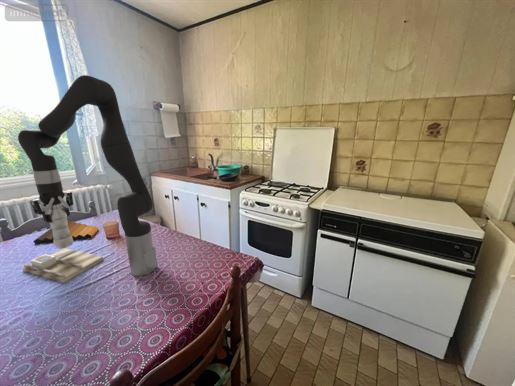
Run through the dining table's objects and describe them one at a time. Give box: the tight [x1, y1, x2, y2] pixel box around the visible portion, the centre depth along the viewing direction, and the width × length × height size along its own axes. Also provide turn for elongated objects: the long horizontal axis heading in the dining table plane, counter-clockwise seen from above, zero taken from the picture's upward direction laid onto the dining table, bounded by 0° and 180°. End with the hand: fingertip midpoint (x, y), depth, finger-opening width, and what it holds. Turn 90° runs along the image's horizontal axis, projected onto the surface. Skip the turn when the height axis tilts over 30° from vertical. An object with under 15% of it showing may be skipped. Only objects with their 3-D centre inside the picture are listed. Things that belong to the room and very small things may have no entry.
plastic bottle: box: [48, 203, 74, 250], centre depth 94 cm, size 6×7×20 cm
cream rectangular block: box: [30, 253, 57, 269], centre depth 91 cm, size 6×5×3 cm
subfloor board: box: [21, 248, 104, 284], centre depth 94 cm, size 23×16×3 cm
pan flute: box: [33, 219, 100, 245], centre depth 124 cm, size 25×3×25 cm
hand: (57, 219), depth 93 cm, fingers closed on plastic bottle, 6 cm apart
